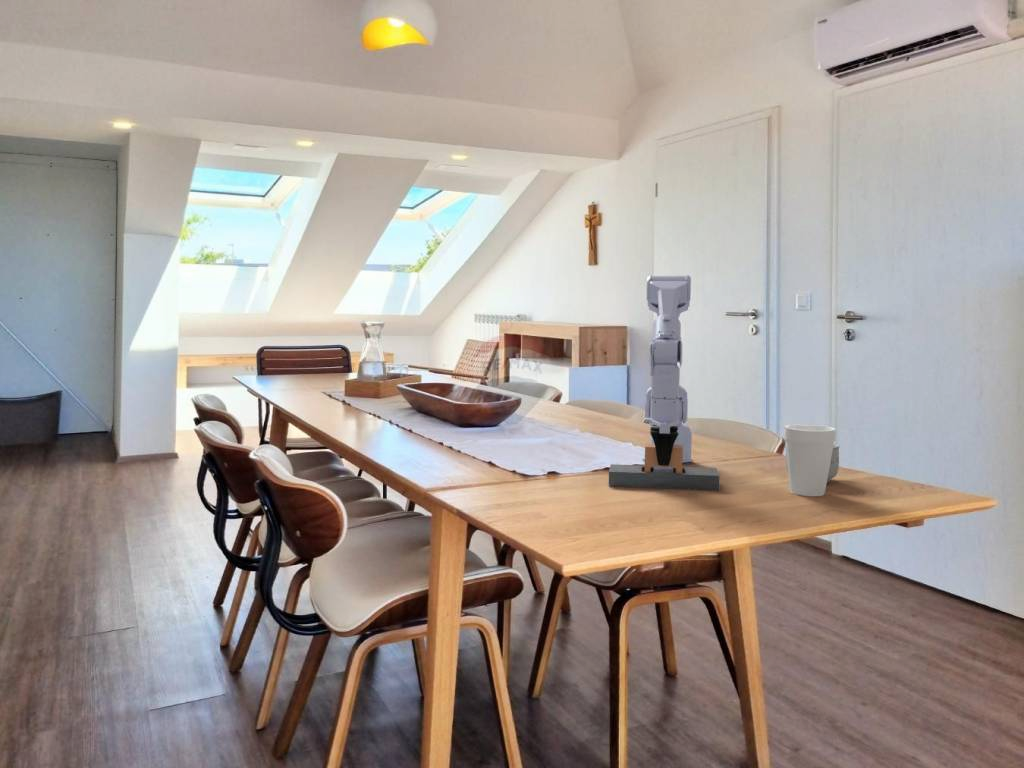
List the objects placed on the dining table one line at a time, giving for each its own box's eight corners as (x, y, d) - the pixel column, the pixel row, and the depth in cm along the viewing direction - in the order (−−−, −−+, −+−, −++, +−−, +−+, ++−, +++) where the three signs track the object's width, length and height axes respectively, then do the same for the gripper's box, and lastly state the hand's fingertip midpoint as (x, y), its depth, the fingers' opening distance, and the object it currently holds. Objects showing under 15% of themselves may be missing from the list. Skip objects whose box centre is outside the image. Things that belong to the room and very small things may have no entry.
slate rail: (716, 482, 172) (716, 468, 171) (719, 490, 164) (719, 475, 164) (610, 478, 175) (610, 464, 175) (608, 486, 168) (608, 471, 167)
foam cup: (827, 500, 156) (829, 432, 155) (777, 494, 161) (779, 428, 160) (836, 490, 164) (839, 426, 163) (789, 485, 169) (791, 423, 168)
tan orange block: (681, 478, 171) (682, 444, 170) (682, 482, 167) (682, 448, 166) (644, 476, 172) (645, 443, 171) (644, 480, 168) (645, 446, 168)
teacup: (812, 488, 166) (814, 449, 165) (772, 478, 176) (774, 441, 175) (859, 482, 172) (861, 444, 172) (819, 473, 182) (820, 437, 181)
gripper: (645, 393, 176) (644, 456, 177) (644, 401, 161) (643, 469, 163) (678, 394, 175) (677, 457, 176) (681, 402, 160) (679, 470, 162)
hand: (663, 463), depth 169 cm, fingers closed on tan orange block, 4 cm apart
